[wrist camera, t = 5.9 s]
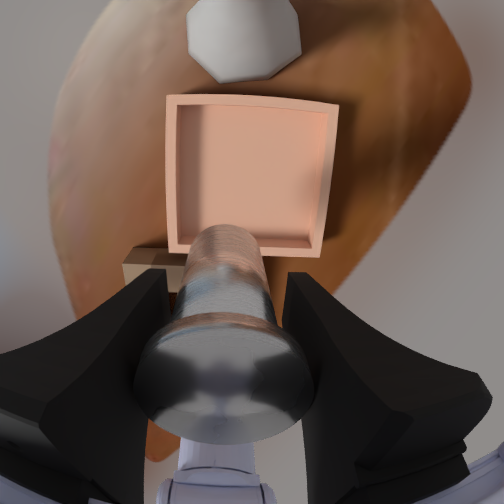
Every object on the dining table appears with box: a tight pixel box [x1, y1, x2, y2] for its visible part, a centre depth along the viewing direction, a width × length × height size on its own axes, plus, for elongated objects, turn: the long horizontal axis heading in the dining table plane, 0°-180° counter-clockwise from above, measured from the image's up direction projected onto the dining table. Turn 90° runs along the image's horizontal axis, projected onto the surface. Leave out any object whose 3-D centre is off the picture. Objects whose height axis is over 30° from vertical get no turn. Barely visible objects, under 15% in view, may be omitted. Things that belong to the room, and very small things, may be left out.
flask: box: [186, 0, 302, 84], centre depth 10 cm, size 7×7×10 cm
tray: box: [166, 94, 339, 257], centre depth 18 cm, size 10×10×2 cm
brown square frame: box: [122, 247, 189, 317], centre depth 21 cm, size 8×8×2 cm
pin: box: [133, 224, 314, 445], centre depth 10 cm, size 4×4×8 cm
